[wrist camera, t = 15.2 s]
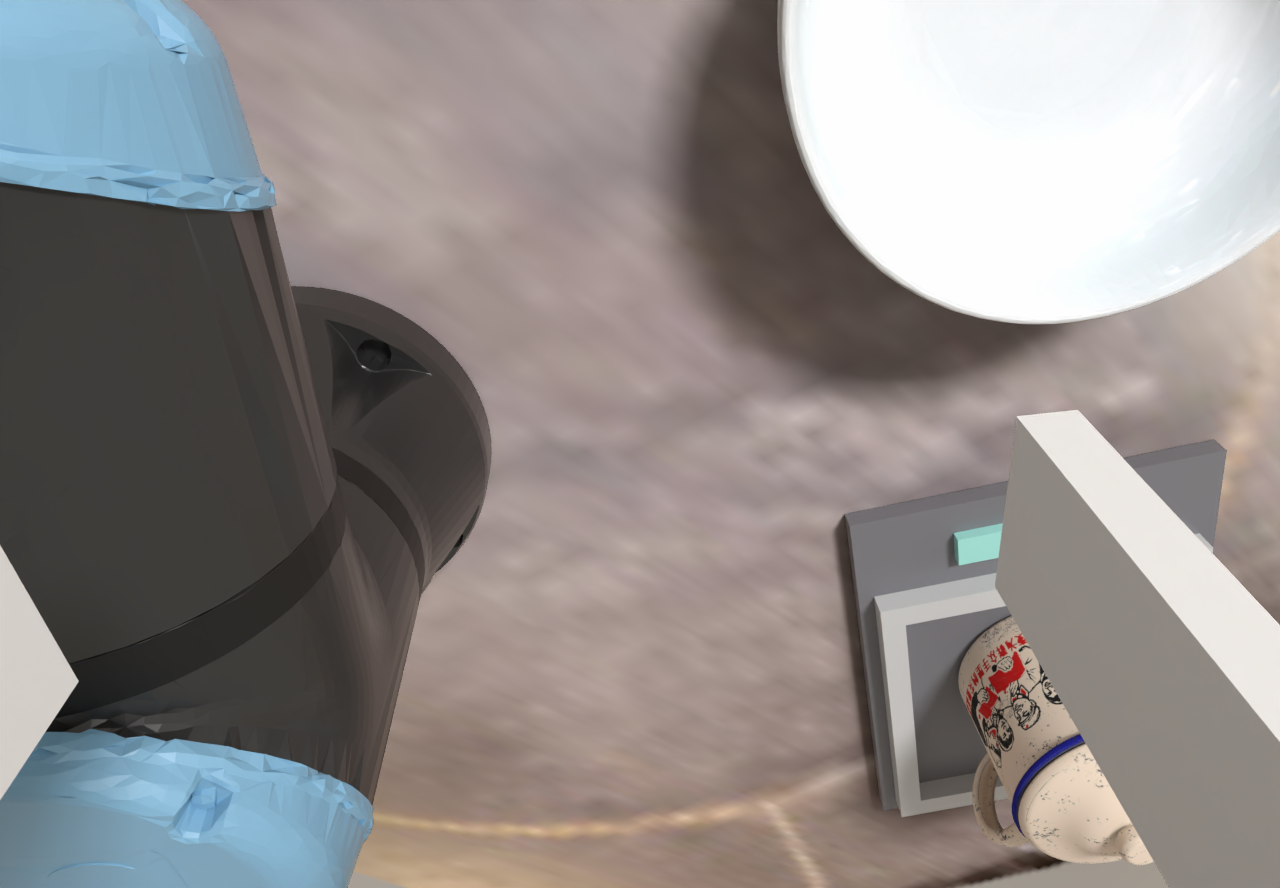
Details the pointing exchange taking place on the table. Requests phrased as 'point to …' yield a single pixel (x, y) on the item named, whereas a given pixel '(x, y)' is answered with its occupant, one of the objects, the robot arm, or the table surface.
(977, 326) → the table surface
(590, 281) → the table surface
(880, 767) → the base
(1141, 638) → the robot arm
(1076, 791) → the teacup with lid
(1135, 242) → the serving bowl
